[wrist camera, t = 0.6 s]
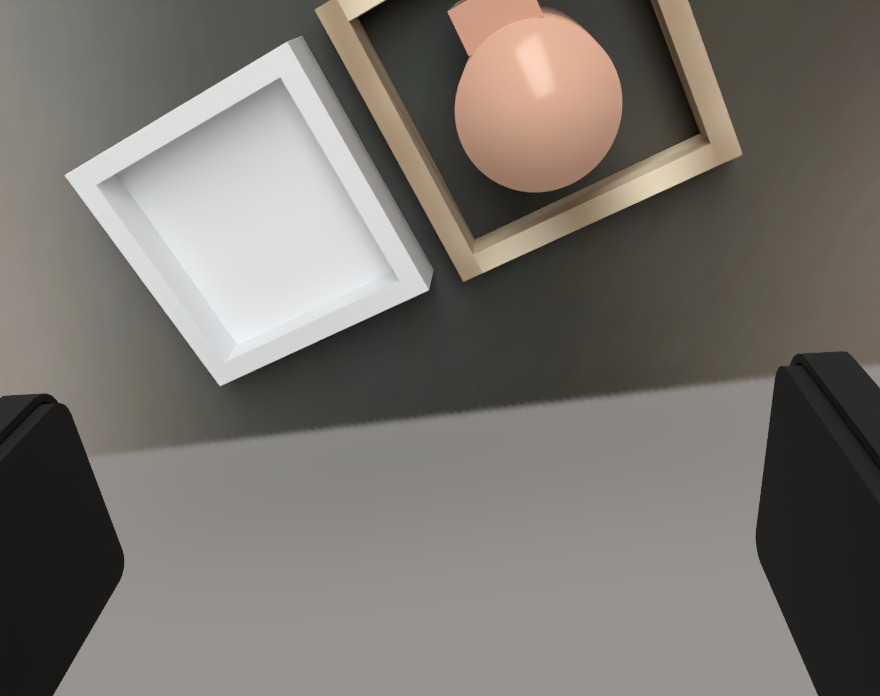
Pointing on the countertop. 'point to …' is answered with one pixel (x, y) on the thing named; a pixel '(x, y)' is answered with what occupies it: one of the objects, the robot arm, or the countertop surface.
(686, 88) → the light wooden square frame
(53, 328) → the countertop surface
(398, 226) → the tray
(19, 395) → the robot arm
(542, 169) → the pink cylinder with tab
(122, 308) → the countertop surface
